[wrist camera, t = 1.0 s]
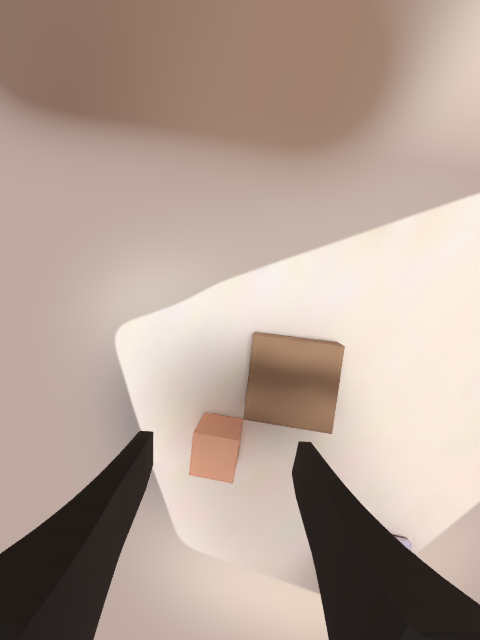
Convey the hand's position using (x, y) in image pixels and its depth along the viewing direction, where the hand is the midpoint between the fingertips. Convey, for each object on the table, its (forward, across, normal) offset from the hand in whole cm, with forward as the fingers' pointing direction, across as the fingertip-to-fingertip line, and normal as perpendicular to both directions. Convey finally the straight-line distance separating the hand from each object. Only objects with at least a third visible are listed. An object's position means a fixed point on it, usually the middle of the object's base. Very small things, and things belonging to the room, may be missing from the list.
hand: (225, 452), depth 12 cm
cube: (+14, 0, +12) cm, 18 cm away
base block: (+14, -7, +4) cm, 16 cm away
